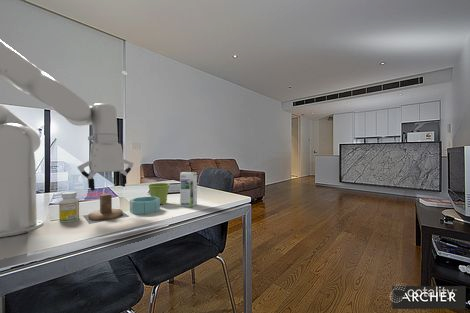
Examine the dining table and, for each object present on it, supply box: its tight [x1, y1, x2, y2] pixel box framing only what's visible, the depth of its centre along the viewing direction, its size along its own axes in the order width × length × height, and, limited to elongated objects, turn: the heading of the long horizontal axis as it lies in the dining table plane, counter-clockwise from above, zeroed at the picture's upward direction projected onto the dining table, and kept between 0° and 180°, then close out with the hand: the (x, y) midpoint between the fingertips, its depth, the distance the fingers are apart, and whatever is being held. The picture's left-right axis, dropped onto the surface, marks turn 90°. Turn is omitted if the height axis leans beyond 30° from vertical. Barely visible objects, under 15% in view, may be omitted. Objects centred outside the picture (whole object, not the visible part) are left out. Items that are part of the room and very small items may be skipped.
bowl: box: [129, 196, 161, 215], centre depth 86 cm, size 10×10×5 cm
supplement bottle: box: [58, 191, 80, 223], centre depth 75 cm, size 5×5×10 cm
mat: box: [82, 211, 130, 225], centre depth 79 cm, size 12×12×1 cm
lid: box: [87, 193, 123, 221], centre depth 79 cm, size 10×10×8 cm
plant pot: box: [147, 182, 171, 205], centre depth 100 cm, size 9×9×9 cm
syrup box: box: [179, 171, 198, 208], centre depth 96 cm, size 6×6×14 cm
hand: (108, 188), depth 79 cm, fingers open, 9 cm apart
